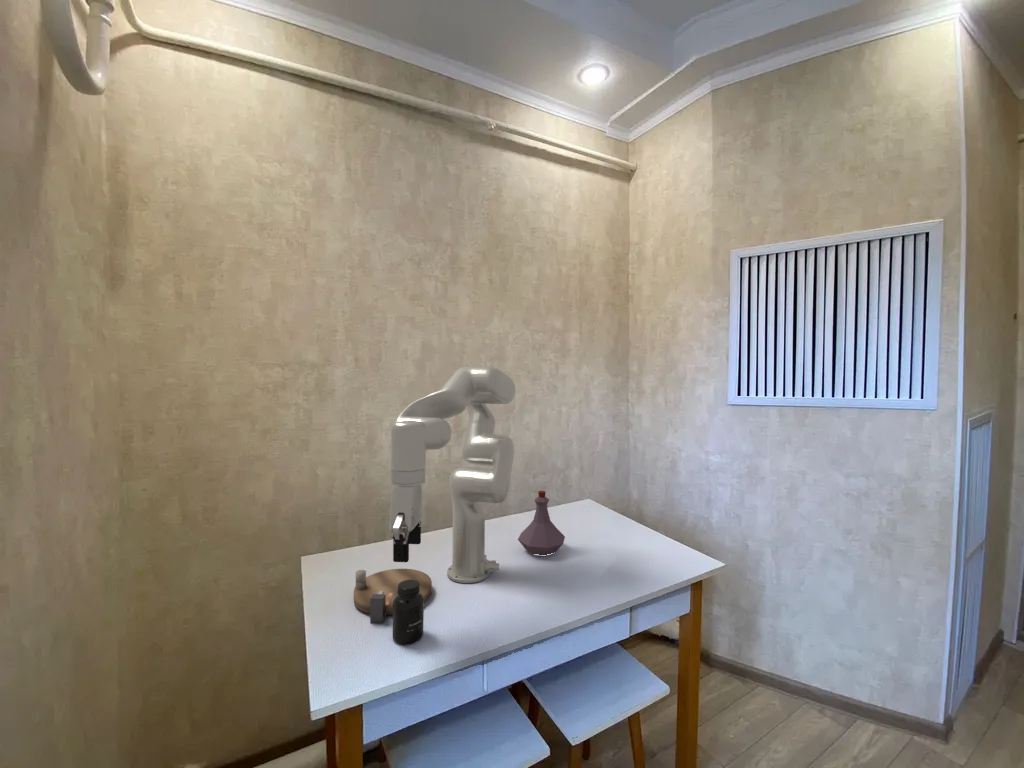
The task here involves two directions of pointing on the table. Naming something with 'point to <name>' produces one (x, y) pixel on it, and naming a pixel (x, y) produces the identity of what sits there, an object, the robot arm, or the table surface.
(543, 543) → the flask
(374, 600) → the index pointer
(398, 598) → the supplement bottle
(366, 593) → the disc
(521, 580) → the table surface
